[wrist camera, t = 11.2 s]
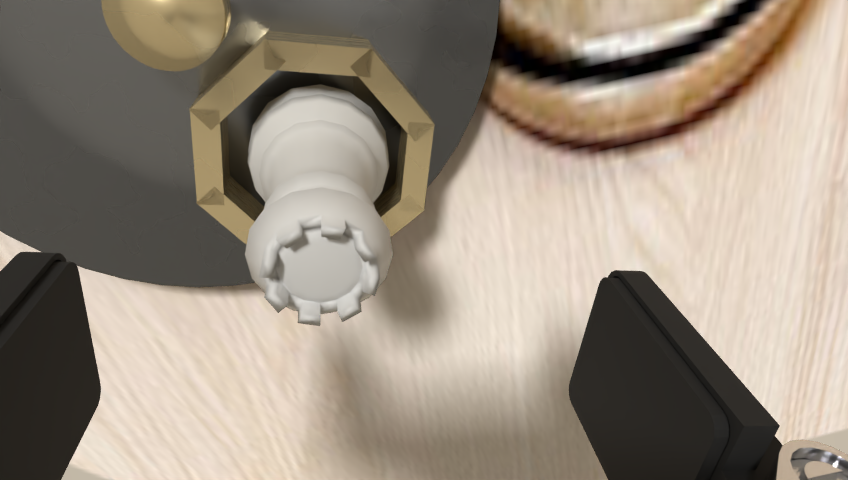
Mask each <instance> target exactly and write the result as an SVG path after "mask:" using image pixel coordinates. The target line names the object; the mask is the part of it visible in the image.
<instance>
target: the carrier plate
mask: <svg viewBox="0 0 848 480" xmlns="http://www.w3.org/2000/svg"><path fill="white" fill-rule="evenodd" d="M499 2H500V0H0V231H1V232H3V233H5V234H6V235H8V236H10V237H12V238H14V239H16V240H18V241H20V242H22V243H24V244H27V245H29V246H31V247H33V248H35V249H37V250H39V251H41V252H44V253H61V254H62V255H63V256H64V257H65V259H66V261H67V262H74V263H75V264H76V265H77V266H80V267H82V268H85V269H89V270H93V271H96V272H100V273H104V274H108V275H111V276H115V277H119V278H123V279H128V280H134V281H140V282H147V283H153V284H159V285H171V286H188V287H214V286H235V285H242V284H248V283H254V282H255V281H254V280H253V279H252V277H251V273H250V270H249V267H248V263H247V260H246V257H245V251H246V245H247V240H248V234H249V229H250V228H251V226H252V225H253V223H254V222H255V221H256V219H257V218H258V217H259V215H260V214H261V213H262V211H263V210H264V207H265V203H266V202H265V201H264V200H263V198H262V197H261V196H260V195H259V193H258V192H257V191H256V189H255V187H254V184H253V180H252V176H251V173H250V169H249V165H248V162H247V161H248V155H249V153H248V149H249V143H250V137H251V131H252V125H253V124H254V122H255V121H256V119H257V118H258V116H259V115H260V114H261V112H262V111H263V109H264V108H265V106H266V105H267V103H269V102H270V101H272V100H273V99H275V98H277V97H278V96H280V95H282V94H283V93H285V92H287V91H288V90H290V89H292V88H298V87H305V86H312V85H319V84H322V85H325V86H329V87H333V88H337V89H341V90H345V91H349V92H350V93H352V94H353V95H354V96H356V97H357V98H358V99H360V100H361V101H363V102H364V103H365V104H367V105H368V106H369V107H371V108H372V110H373V111H374V113H375V115H376V116H377V118H378V120H379V121H380V123H381V125H382V126H383V128H384V130H385V133H386V140H387V147H388V154H389V157H388V159H389V169H388V173H387V176H386V180H385V183H384V187H383V190H382V192H381V194H380V195H379V196H378V198H377V199H376V200H375V201H374V203H373V204H374V206H375V210H376V211H377V213H378V214H379V216H380V217H381V219H382V220H383V222H384V223H385V225H386V226H387V228H388V229H389V231H390V237H392V236H393V235H394V234H396V233H397V232H398V231H399V230H401V229H402V228H403V227H404V226H406V225H407V224H408V223H409V222H411V221H412V220H413V219H414V218H416V217H417V216H418V215H419V214H421V213H422V212H424V205H425V197H426V189H427V187H428V186H429V185H430V184H431V182H432V181H433V180H434V179H435V178H436V177H437V175H438V174H439V173H440V171H441V170H442V168H443V167H444V165H445V164H446V162H447V161H448V159H449V158H450V156H451V155H452V153H453V152H454V150H455V149H456V147H457V146H458V144H459V142H460V140H461V138H462V136H463V134H464V132H465V130H466V128H467V126H468V124H469V122H470V120H471V118H472V116H473V114H474V112H475V109H476V106H477V103H478V100H479V98H480V95H481V92H482V89H483V86H484V83H485V81H486V78H487V75H488V70H489V66H490V61H491V57H492V52H493V48H494V43H495V39H496V32H497V22H498V12H499Z"/></svg>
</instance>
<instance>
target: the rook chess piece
mask: <svg viewBox="0 0 848 480" xmlns="http://www.w3.org/2000/svg"><path fill="white" fill-rule="evenodd" d="M248 153H249V155H248V161H247V162H248V165H249V169H250V173H251V176H252V180H253V184H254V187H255V189H256V191H257V192H258V193H259V195H260V196H261V197H262V198H263V200H264V201H265V202H266V203H265V207H264V210H263V211H262V213H261V214H260V215H259V217H258V218H257V219H256V221H255V222H254V223H253V225H252V226H251V228H250V229H249V234H248V240H247V245H246V251H245V257H246V260H247V263H248V267H249V270H250V273H251V277H252V279H253V280H254V281H255V283H256V284H257V285H258V286H259V287H260V288H261V289H262V291H263V292H264V293H265V298H266V300H267V301H268V302H269V303H270V304H271V305H272V306H273V307H274V309H275V310H276V311H277V312H278V313H279V312H280V311H281V310H282V309H284V308H285V307H287V308H289V309H291V310H293V311H298V323H302V324H309V325H317V326H320V314H325V313H331V312H336V311H338V314H339V316H340V318H341V320H342V322H343V321H345V320H347V319H349V318H351V317H353V316H354V315H356V314H358V313H360V312H361V303H360V302H362V301H363V300H365V299H367V298H369V297H370V296H371V295H373V296H375V294H376V291H377V288H378V287H379V286H380V284H381V283H382V282H383V281H384V280H385V279H386V276H387V273H388V270H389V266H390V263H391V260H392V257H393V251H392V244H391V237H390V231H389V229H388V228H387V226H386V225H385V223H384V222H383V220H382V219H381V217H380V216H379V214H378V213H377V211H376V210H375V206H374V204H373V203H374V201H375V200H376V199H377V198H378V196H379V195H380V194H381V192H382V190H383V187H384V183H385V180H386V176H387V173H388V169H389V159H388V157H389V154H388V147H387V140H386V133H385V130H384V128H383V126H382V125H381V123H380V121H379V120H378V118H377V116H376V115H375V113H374V111H373V110H372V108H371V107H369V106H368V105H367V104H365V103H364V102H363V101H361V100H360V99H358V98H357V97H356V96H354V95H353V94H352V93H350V92H349V91H345V90H341V89H337V88H333V87H329V86H325V85H322V84H319V85H312V86H305V87H298V88H292V89H290V90H288V91H287V92H285V93H283V94H282V95H280V96H278V97H277V98H275V99H273V100H272V101H270V102H269V103H267V105H266V106H265V108H264V109H263V111H262V112H261V114H260V115H259V116H258V118H257V119H256V121H255V122H254V124H253V125H252V131H251V137H250V143H249V149H248Z"/></svg>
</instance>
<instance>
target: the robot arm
mask: <svg viewBox="0 0 848 480" xmlns="http://www.w3.org/2000/svg"><path fill="white" fill-rule="evenodd" d="M100 393H101V386H100V379H99V374H98V369H97V364H96V359H95V354H94V349H93V343H92V338H91V333H90V328H89V323H88V318H87V312H86V307H85V302H84V297H83V292H82V287H81V282H80V276H79V271H78V268H77V266H76V264H75V263H74V262H67V261H66V259H65V257H64V256H63V255H62V254H61V253H44V252H20V253H19V254H17V255H16V256H15V257H14V258H13V259H12V260H11V261H10V262H9V263H8V264H7V265H6V266H5V267H4V268H3V269H2V270H1V271H0V480H61V479H62V477H63V475H64V472H65V470H66V468H67V466H68V464H69V462H70V460H71V458H72V456H73V454H74V452H75V450H76V448H77V446H78V444H79V442H80V440H81V438H82V436H83V434H84V432H85V430H86V428H87V426H88V424H89V422H90V420H91V418H92V416H93V414H94V412H95V410H96V408H97V406H98V403H99V400H100ZM569 396H570V400H571V403H572V405H573V407H574V409H575V412H576V414H577V416H578V418H579V420H580V422H581V424H582V426H583V428H584V430H585V432H586V434H587V436H588V438H589V441H590V443H591V445H592V447H593V449H594V451H595V453H596V455H597V457H598V459H599V461H600V463H601V465H602V467H603V469H604V472H605V474H606V476H607V478H608V480H848V455H847V454H845V453H843V452H842V451H840V450H838V449H836V448H834V447H831V446H828V445H825V444H822V443H819V442H814V441H809V440H794V441H790V442H788V443H786V444H784V445H782V444H781V443H780V442H779V440H778V439H777V438H776V437H775V434H776V432H777V430H778V428H779V426H780V425H779V424H778V423H777V422H776V421H775V420H774V419H773V417H772V416H771V415H770V414H769V413H768V412H767V411H766V409H765V408H764V407H763V406H762V405H761V404H760V403H759V401H758V400H757V399H756V398H755V397H754V396H753V395H752V393H751V392H750V391H749V390H748V389H747V388H746V387H745V385H744V384H743V383H742V382H741V381H740V380H739V379H738V377H737V376H736V375H735V374H734V373H733V372H732V371H731V369H730V368H729V367H728V366H727V365H726V364H725V363H724V361H723V360H722V359H721V358H720V357H719V356H718V355H717V353H716V352H715V351H714V350H713V349H712V348H711V347H710V345H709V344H708V343H707V342H706V341H705V340H704V339H703V337H702V336H701V335H700V334H699V333H698V332H697V331H696V329H695V328H694V327H693V326H692V325H691V324H690V323H689V321H688V320H687V319H686V318H685V317H684V316H683V315H682V313H681V312H680V311H679V310H678V309H677V308H676V307H675V305H674V304H673V303H672V302H671V301H670V300H669V299H668V297H667V296H666V295H665V294H664V293H663V292H662V291H661V289H660V288H659V287H658V286H657V285H656V284H655V283H654V281H653V280H652V279H651V278H650V277H649V276H648V275H647V274H646V273H645V272H642V271H618V270H615V271H613V272H611V273H610V275H609V276H608V278H606V277H605V278H603V279H602V280H601V281H600V284H599V287H598V290H597V293H596V297H595V300H594V303H593V307H592V310H591V313H590V317H589V320H588V323H587V327H586V330H585V333H584V337H583V340H582V343H581V347H580V350H579V353H578V357H577V360H576V363H575V367H574V370H573V373H572V377H571V380H570V384H569Z"/></svg>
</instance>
